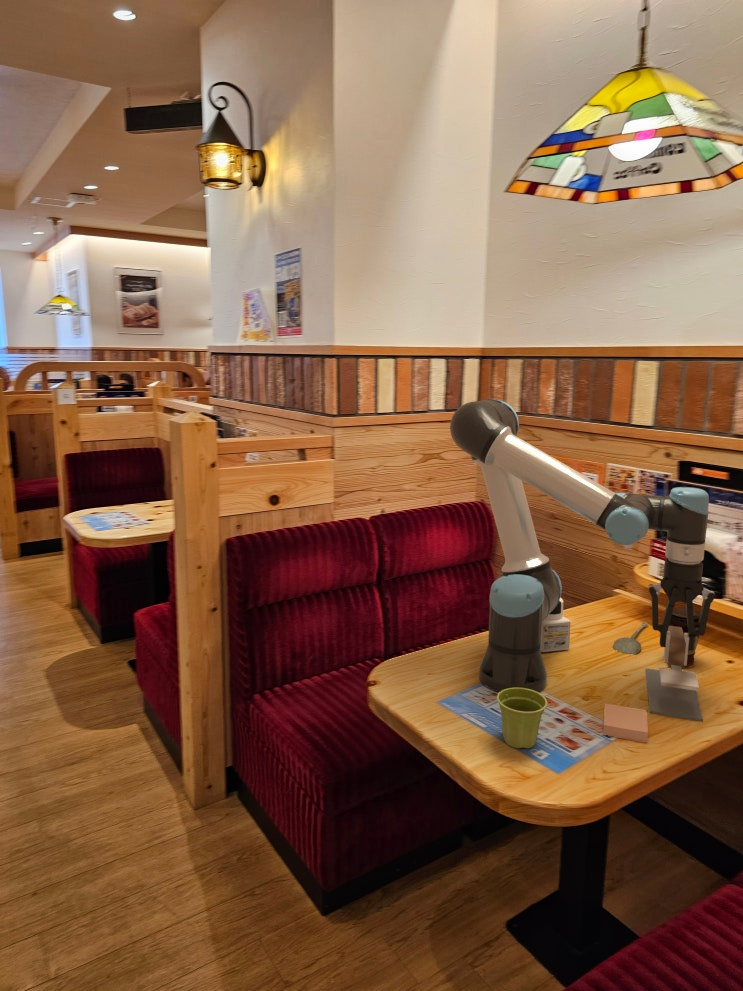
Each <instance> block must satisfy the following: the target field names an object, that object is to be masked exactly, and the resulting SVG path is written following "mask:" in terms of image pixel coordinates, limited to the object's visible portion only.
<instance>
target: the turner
mask: <svg viewBox="0 0 743 991" xmlns="http://www.w3.org/2000/svg"><path fill="white" fill-rule="evenodd" d="M668 631H670V646H669V657H668V663H667V668H664V667H658V668H659V669H658V670H659V674H660V681H661V686H668V687H675V688H682V689H688V690H695V691H696V692H699V691H700V685H699V682H698V678H697V675H696V672H693V671H686V670H685V668H684V659H685V649H686V642H685V639H684V634H683V630H682V627H675V626H669V627H668ZM684 670H685V671H684Z"/></svg>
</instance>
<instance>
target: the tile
mask: <svg viewBox="0 0 743 991" xmlns="http://www.w3.org/2000/svg"><path fill="white" fill-rule="evenodd" d="M603 709H604V710H603V731H602V733H603V734H605V735H604V736H606V735H608V736H607V737H612V736H613V738H617V737H618V738H617V739H624V740H629V741H636V742H640V743H648V737H649V728H648V727H649V726H648V715H647V710H646V709H641V708H635V707H629V706H622V705H618V704H617V705H616V704H611V703H604V708H603ZM603 734H602V735H603Z"/></svg>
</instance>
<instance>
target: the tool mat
mask: <svg viewBox="0 0 743 991" xmlns="http://www.w3.org/2000/svg"><path fill="white" fill-rule="evenodd" d="M645 677H646V678H647V679H646V688H647V689H648V690H647V698H648V699H647V700H648V708H649V713H650V714H655V715H662V716H665V717H667V716H668V717H673V718H680V719H685V720H691V721H698V722H703V721H704V718H703V714H702V710H701V707H700V702H699V698H698V693H697V691H695V690H688V689H682V688H675V687H668V686H661V681H660V674H659V669H656V668H655V669H654V668H647V667H646V668H645Z"/></svg>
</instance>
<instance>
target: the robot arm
mask: <svg viewBox="0 0 743 991" xmlns="http://www.w3.org/2000/svg"><path fill="white" fill-rule="evenodd" d="M519 427H520V422H519V417H518V414H517V412H516V411H515V409H514V408H513V407H512V406H511V405H510V404H509V403H507V402H505V401H503V400H499V399H494V398H488V399H483V400H478V401H475V400H474V401H469V402H467V403H464V404H462V405H461V406H460V407H458V408H457V409H456V411H455V412H453V415H452V417H451V419H450V423H449V431H450V436H451V438H452V440H453V442H454V443H455V445H456V446H457V447H458V448H459V449H460V450H462V451H463V452H465V453H466V454H467V455H469V456H470V457H471V461H472V462H473V463H475V464H476V465H478V466H479V467H480V468H481V473H482V476H483V480H484V484H485V487H486V491H487V495H488V498H489V503H490V507H491V511H492V513H493V517H494V522H495V525H496V529H497V533H498V537H499V541H500V545H501V549H502V552H503V556H504V560H505V561H504V564H503V566H502V567H501V572H502V576H501V577H498V578H497V579H496V580H494V582H493V583H492V584H491V587H490V593H489V599H488V600H489V614H488V616H489V617H488V619H489V620H488V638H487V639H488V642H487V644H488V645H487V647H486V650H485V652H484V655H483V657H482V660H481V663H480V664H479V674H478V677H479V678H478V679H479V680H480V683H481V684H483V685H484V686H485V687H486V688H488V689H490V690H493V691H495V692H497V693H499V692H501V691H502V690H504V689H508V688H526V689H531V690H534V691H536V692H538V693H540V692H541V691H543V690H544V689H545V688H546V686H547V679H548V678H547V677H548V673H547V669H546V666H545V662H544V659H543V656H542V652H541V651H540V646H541V630H542V622H543V621H544V619H545V618H546V617H547V616H548V615H549V614H550V612H552V611H553V610H554V609H555V607H556V606H557V604H558V602H559V600H560V598H562V597H561V596H562V594H563V593H562V592H563V591H562V590H563V586H562V581H561V578H560V577H559V575H558V573H557V572H556V571H555V570H554V569H552V565H551V562H550V561H551V560H550V559H549V557H548V556H546V555H545V554H543V553H542V552H541V549H540V546H539V541H538V537H537V533H536V530H535V525H534V522H533V519H532V517H533V516H532V513H531V511H530V507H529V503H528V499H527V495H526V492H525V488H524V484H523V482H524V483H526V484H528V485H529V486H531V487H532V488H534V489H536V491H537V490H538V491H539V492H541V493H542V494H544V495H546V496H548V498H551V499H552V500H555V501H556V502H557V503H559V504H561V505H562V506H564V507H566V508H567V509H569V510H570V511H573V512H574V513H575V514H578V515H579V516H581V517H583V518H585V520H587V521H590V522H591V523H593V524H594V525H596V526H598V527H599V528H601V529H602V530H604V531H606V535H607V537H608V538H609V539H610V540H611V541H613V542H614V543H615V544H618V545H620V546H630V545H634V544H636V543H637V542H639V541H641V540H642V539H643V538H644V537H646V535H647V533H648V531H649V530H650V531H651V530H652V531H660V532H663V531H664V532H666V543H665V557H666V558H665V559H664V564H663V566H664V567H663V576H662V579H661V580H660V583H657V584H653V583H650V584H649V585H648V591H649V593H650V596H651V625H652V630H654V631H656V632H657V631H658V632H659V633H660V634H659V646H660V648H664V650H663V662H664V664H668V657H669V646H670V631H668V627H669V624H670V620H671V616H672V612H673V609H675V606H676V603H679V602H680V603H684V604H685V609H686V613H687V625H688V633H684V639H685V642H686V649H685V659H684V666H687V655H688V650H690V651H693V649H694V639H695V637H696V636H699V637H703V636H705V635H706V634H705V633H706V630H707V629H706V628H707V624H708V619H709V613H710V608H711V605H712V603H713V601H714V600H715V598H716V593H715V592H714V590H712V589H708V588H706V587H704V584H703V582H702V581H703V580H702V579H703V571H704V570H703V568H704V563H703V562H702V561H704V558H705V545H706V537H707V536H706V535H707V529H708V520H709V519H708V518H709V503H710V501H709V500H710V499H709V498H710V496H709V493H708V492H707V491H706V490H704V489H701V488H697V487H686V486H685V487H681V486H680V487H678V486H677V487H673V488H672V489H671V490H670V493H669V494H668V495H665V496H664V495H651V494H643V493H642V494H640V493H632V492H614V491H612V490H611V489H609V488H607V487H605V486H603V485H601V484H600V483H598V482H597V481H595V480H593V479H591V478H590V477H588V476H587V475H585V474H583V473H581V472H579V471H577V470H576V469H573V468H572V467H570V466H569V465H567V464H565V463H563V462H562V461H560V460H558V459H556V458H555V457H553V456H552V455H550V454H548V453H546V452H545V451H542V450H541V449H539V448H537V447H536V446H534V445H532V444H530V443H528V442H527V441H525V440H523V439H522V438H521V437H518V431H519ZM661 590H663V592H664V593H665V595H666V597H667V600H666V605H665V609H664V612H663V617H662V620H661V623H659V596H658V595H660V594H661ZM700 594H701V596H702V599H703V600H702V601H701V602H702V603H701V608H700V612H699V613H700V617H699V622H698V627H697V628H695V627H694V615H693V610H694V604H693V601H694V600H696V598H697V597H698V596H700Z"/></svg>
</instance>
